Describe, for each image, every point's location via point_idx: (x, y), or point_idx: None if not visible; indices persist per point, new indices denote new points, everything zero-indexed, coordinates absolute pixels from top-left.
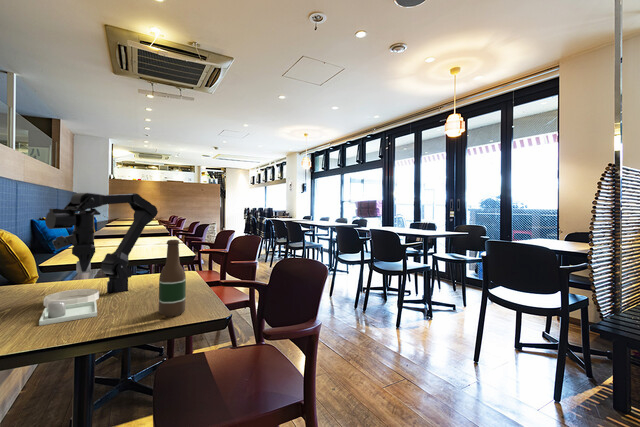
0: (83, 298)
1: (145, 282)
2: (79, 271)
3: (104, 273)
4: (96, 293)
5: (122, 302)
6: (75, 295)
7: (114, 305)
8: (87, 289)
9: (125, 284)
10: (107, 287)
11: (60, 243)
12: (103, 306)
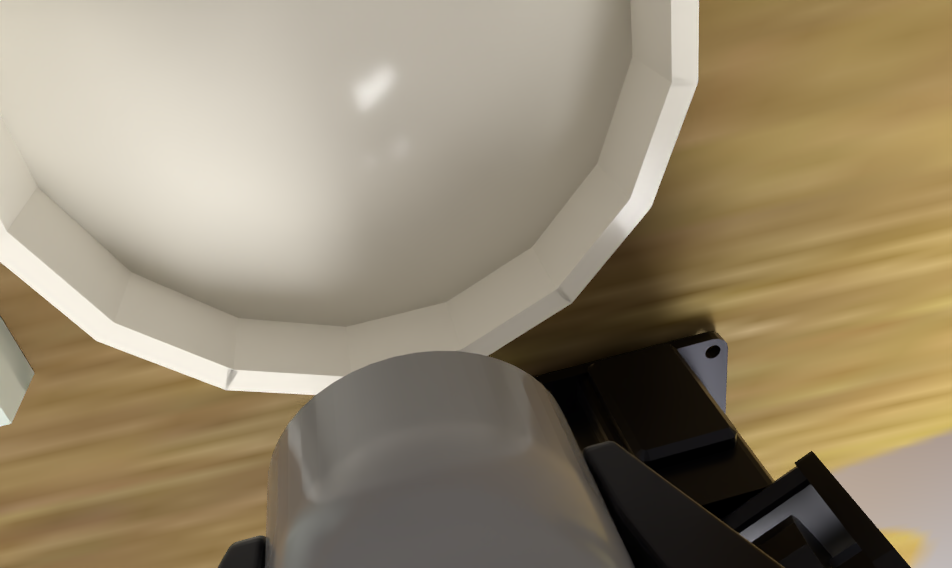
0: (54, 294)
1: (922, 536)
2: (273, 488)
3: (842, 487)
4: (281, 389)
5: (162, 553)
6: (632, 25)
7: (49, 521)
8: (617, 210)
9: None
10: (618, 408)
11: None
12: (29, 438)
